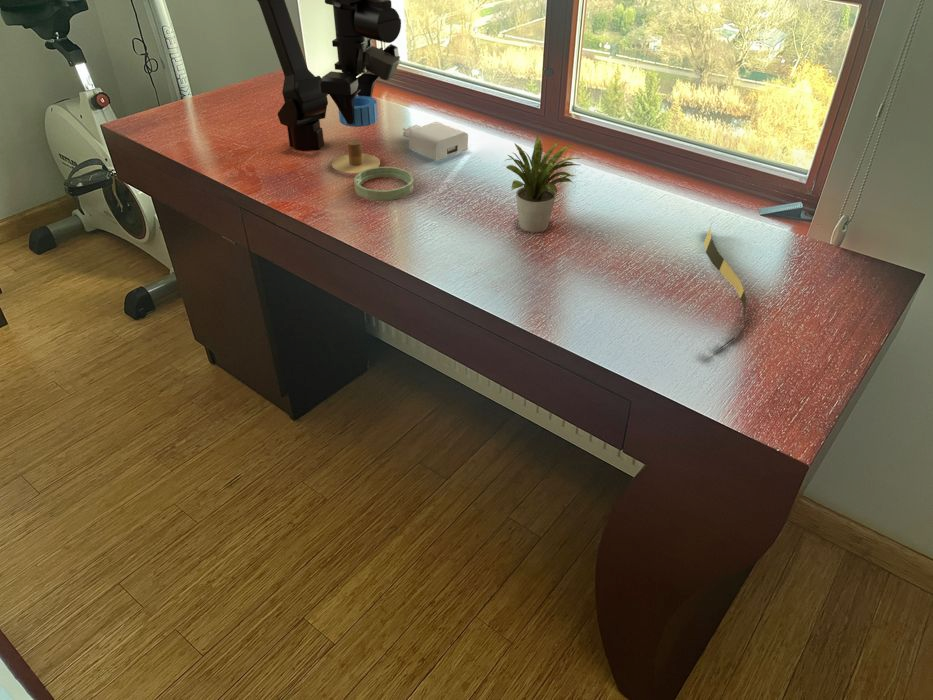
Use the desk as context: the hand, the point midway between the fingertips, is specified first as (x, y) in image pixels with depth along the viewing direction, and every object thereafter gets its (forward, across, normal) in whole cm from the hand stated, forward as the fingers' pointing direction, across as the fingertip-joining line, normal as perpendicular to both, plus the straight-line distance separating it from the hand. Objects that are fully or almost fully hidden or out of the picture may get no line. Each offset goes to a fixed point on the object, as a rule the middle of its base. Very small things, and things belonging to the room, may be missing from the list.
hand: (358, 117), depth 146 cm
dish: (+12, -7, -8) cm, 15 cm away
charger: (+12, +16, -9) cm, 22 cm away
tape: (+12, -25, -70) cm, 75 cm away
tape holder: (+11, +2, +2) cm, 12 cm away
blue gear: (+1, 0, 0) cm, 1 cm away
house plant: (+12, -13, -38) cm, 42 cm away
